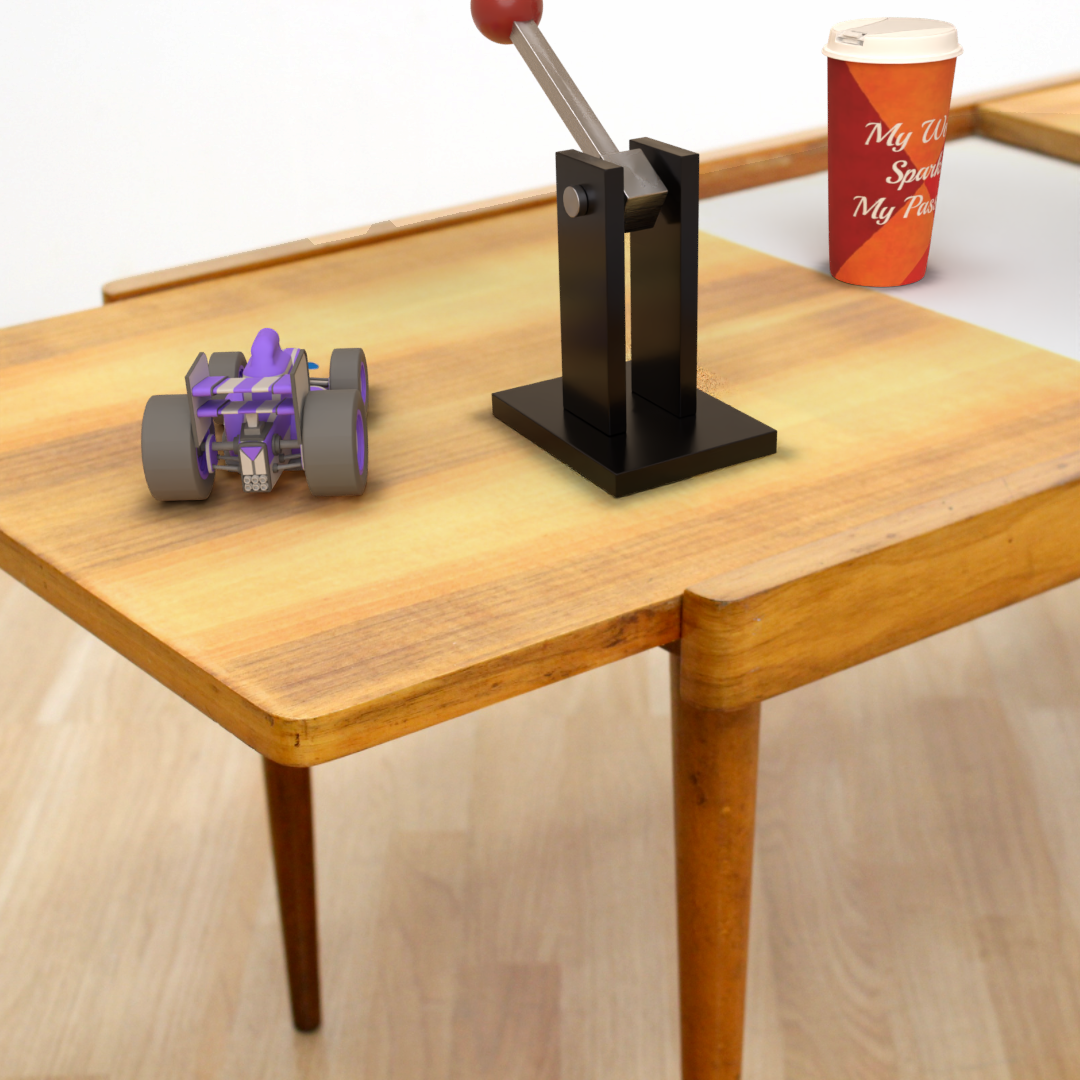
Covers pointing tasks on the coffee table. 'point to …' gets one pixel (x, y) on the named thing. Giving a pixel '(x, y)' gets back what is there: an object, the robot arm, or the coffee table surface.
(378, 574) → the coffee table surface
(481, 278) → the coffee table surface
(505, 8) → the lever
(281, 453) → the toy race car
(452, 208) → the coffee table surface
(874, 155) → the coffee cup
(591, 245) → the bracket
